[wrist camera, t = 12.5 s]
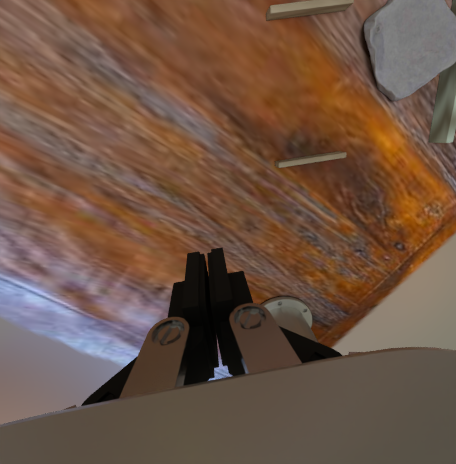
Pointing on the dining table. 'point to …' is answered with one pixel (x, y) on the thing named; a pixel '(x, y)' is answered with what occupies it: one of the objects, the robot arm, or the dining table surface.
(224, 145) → the dining table surface
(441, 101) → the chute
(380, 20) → the stone block
